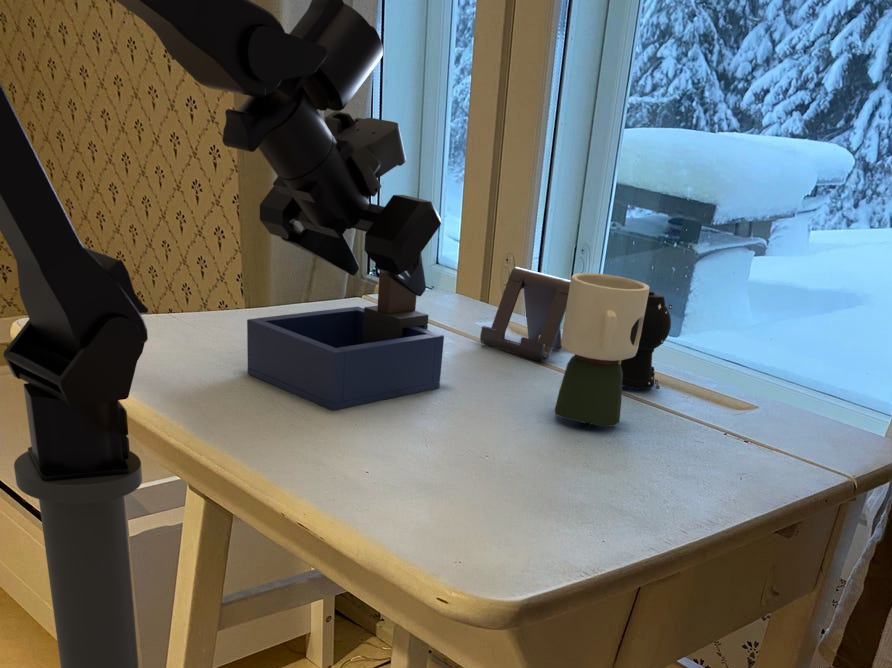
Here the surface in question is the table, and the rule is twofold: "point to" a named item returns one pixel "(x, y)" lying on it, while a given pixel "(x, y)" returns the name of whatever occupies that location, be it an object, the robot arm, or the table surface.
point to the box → (341, 358)
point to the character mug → (599, 345)
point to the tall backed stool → (391, 312)
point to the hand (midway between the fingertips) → (388, 281)
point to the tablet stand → (531, 314)
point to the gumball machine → (647, 344)
